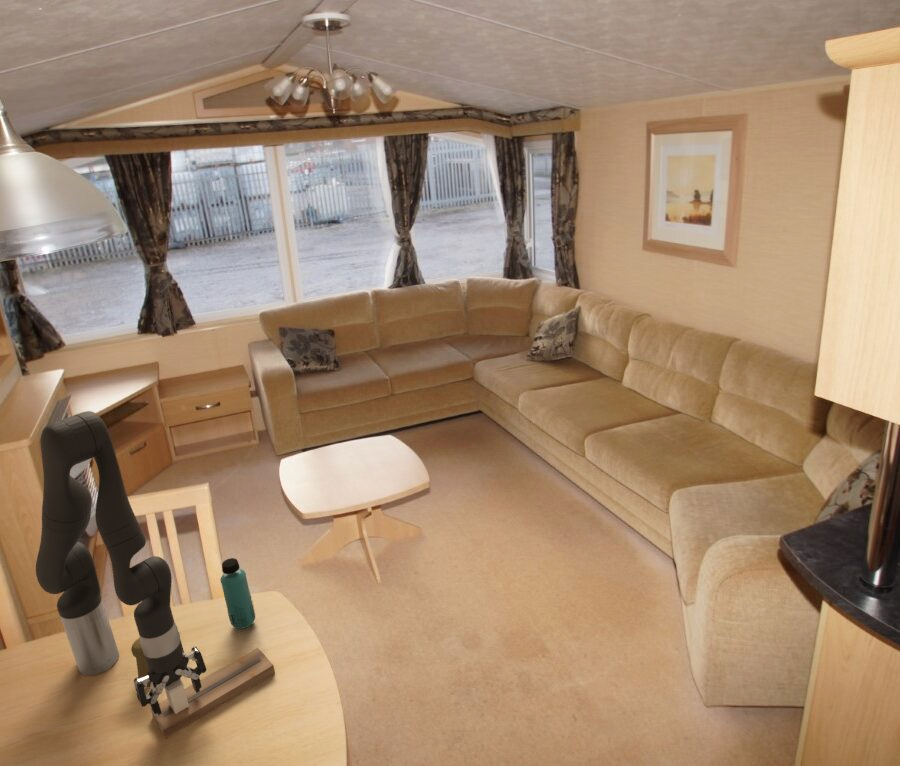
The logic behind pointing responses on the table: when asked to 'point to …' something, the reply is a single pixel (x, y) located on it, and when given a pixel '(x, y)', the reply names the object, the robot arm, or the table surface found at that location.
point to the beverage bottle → (237, 594)
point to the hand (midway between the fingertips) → (177, 701)
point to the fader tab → (176, 696)
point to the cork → (140, 660)
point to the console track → (215, 691)
